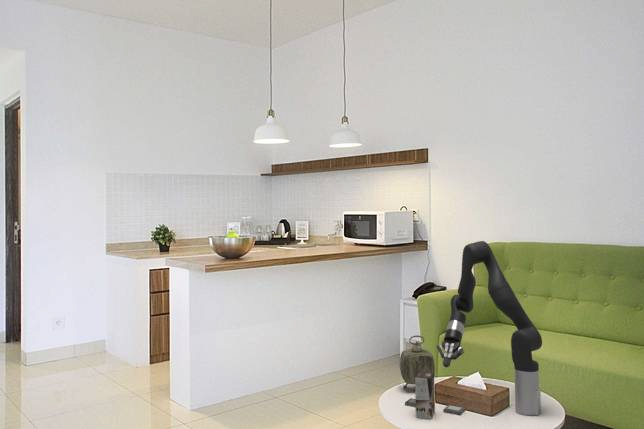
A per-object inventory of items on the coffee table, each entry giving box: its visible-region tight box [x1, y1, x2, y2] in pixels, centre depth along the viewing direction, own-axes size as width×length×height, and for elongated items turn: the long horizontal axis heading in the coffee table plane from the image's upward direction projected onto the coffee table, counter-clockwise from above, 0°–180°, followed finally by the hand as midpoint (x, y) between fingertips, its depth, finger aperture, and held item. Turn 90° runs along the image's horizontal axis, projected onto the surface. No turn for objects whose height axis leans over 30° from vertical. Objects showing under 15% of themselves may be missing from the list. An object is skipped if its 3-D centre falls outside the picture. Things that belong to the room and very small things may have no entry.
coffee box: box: [414, 372, 436, 420], centre depth 222 cm, size 9×6×16 cm
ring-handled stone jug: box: [399, 334, 436, 390], centre depth 253 cm, size 14×9×25 cm, turn 94°
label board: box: [404, 397, 466, 416], centre depth 230 cm, size 24×6×1 cm, turn 57°
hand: (445, 366), depth 242 cm, fingers closed
